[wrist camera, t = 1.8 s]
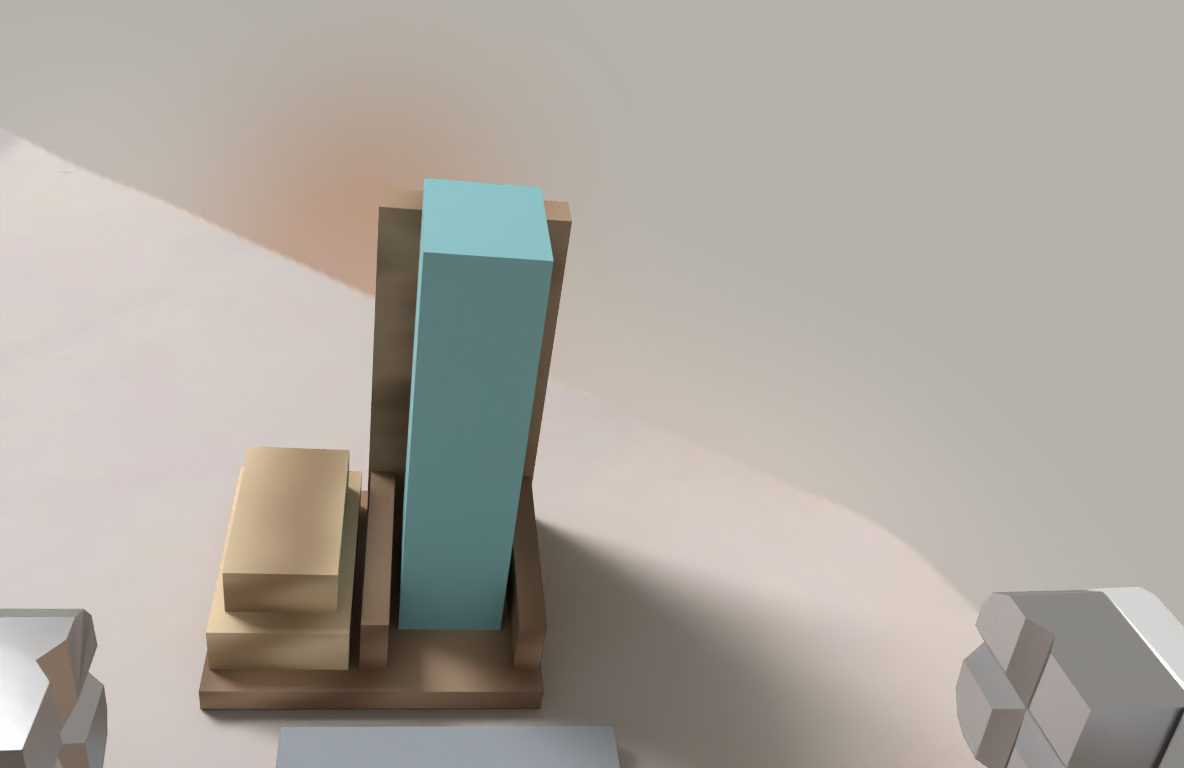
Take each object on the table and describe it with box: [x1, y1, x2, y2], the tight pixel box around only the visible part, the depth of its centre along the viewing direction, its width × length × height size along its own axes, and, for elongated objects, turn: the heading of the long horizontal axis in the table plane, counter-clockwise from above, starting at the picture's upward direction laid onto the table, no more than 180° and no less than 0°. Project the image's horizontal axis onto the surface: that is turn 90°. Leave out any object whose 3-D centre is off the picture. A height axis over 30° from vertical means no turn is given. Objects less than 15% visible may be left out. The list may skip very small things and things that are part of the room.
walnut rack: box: [199, 188, 572, 709], centre depth 42 cm, size 12×11×16 cm
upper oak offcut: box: [222, 446, 349, 613], centre depth 43 cm, size 4×7×2 cm, turn 7°
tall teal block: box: [398, 178, 554, 630], centre depth 41 cm, size 4×5×17 cm
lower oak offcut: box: [206, 467, 362, 670], centre depth 44 cm, size 5×9×2 cm, turn 7°
